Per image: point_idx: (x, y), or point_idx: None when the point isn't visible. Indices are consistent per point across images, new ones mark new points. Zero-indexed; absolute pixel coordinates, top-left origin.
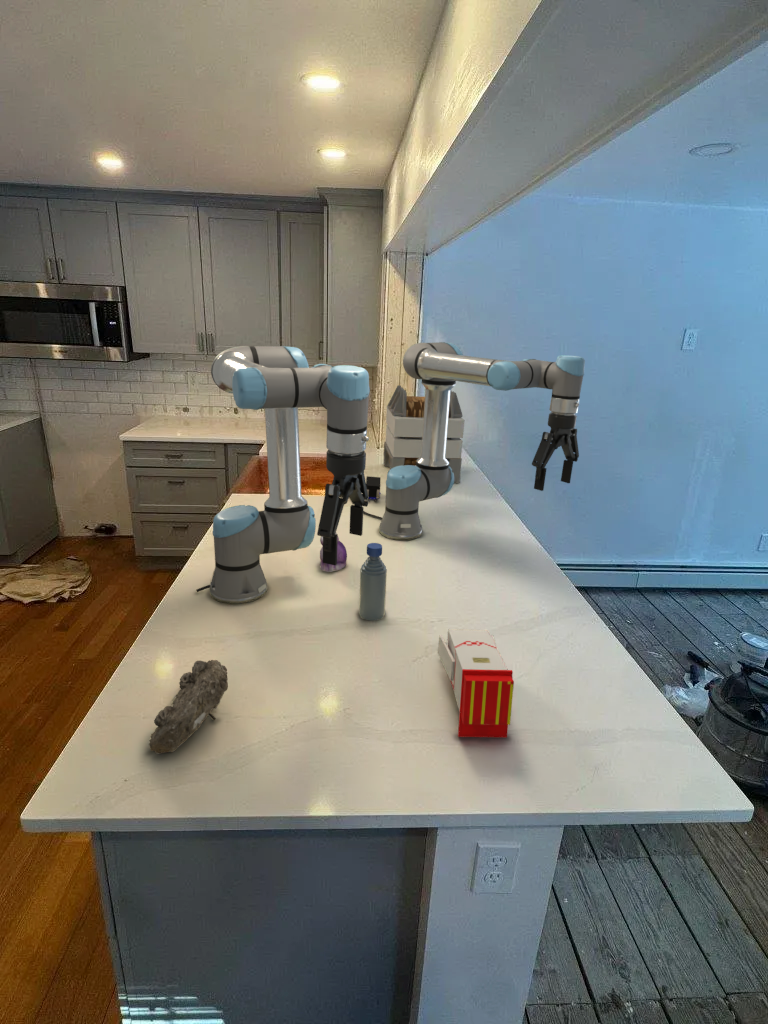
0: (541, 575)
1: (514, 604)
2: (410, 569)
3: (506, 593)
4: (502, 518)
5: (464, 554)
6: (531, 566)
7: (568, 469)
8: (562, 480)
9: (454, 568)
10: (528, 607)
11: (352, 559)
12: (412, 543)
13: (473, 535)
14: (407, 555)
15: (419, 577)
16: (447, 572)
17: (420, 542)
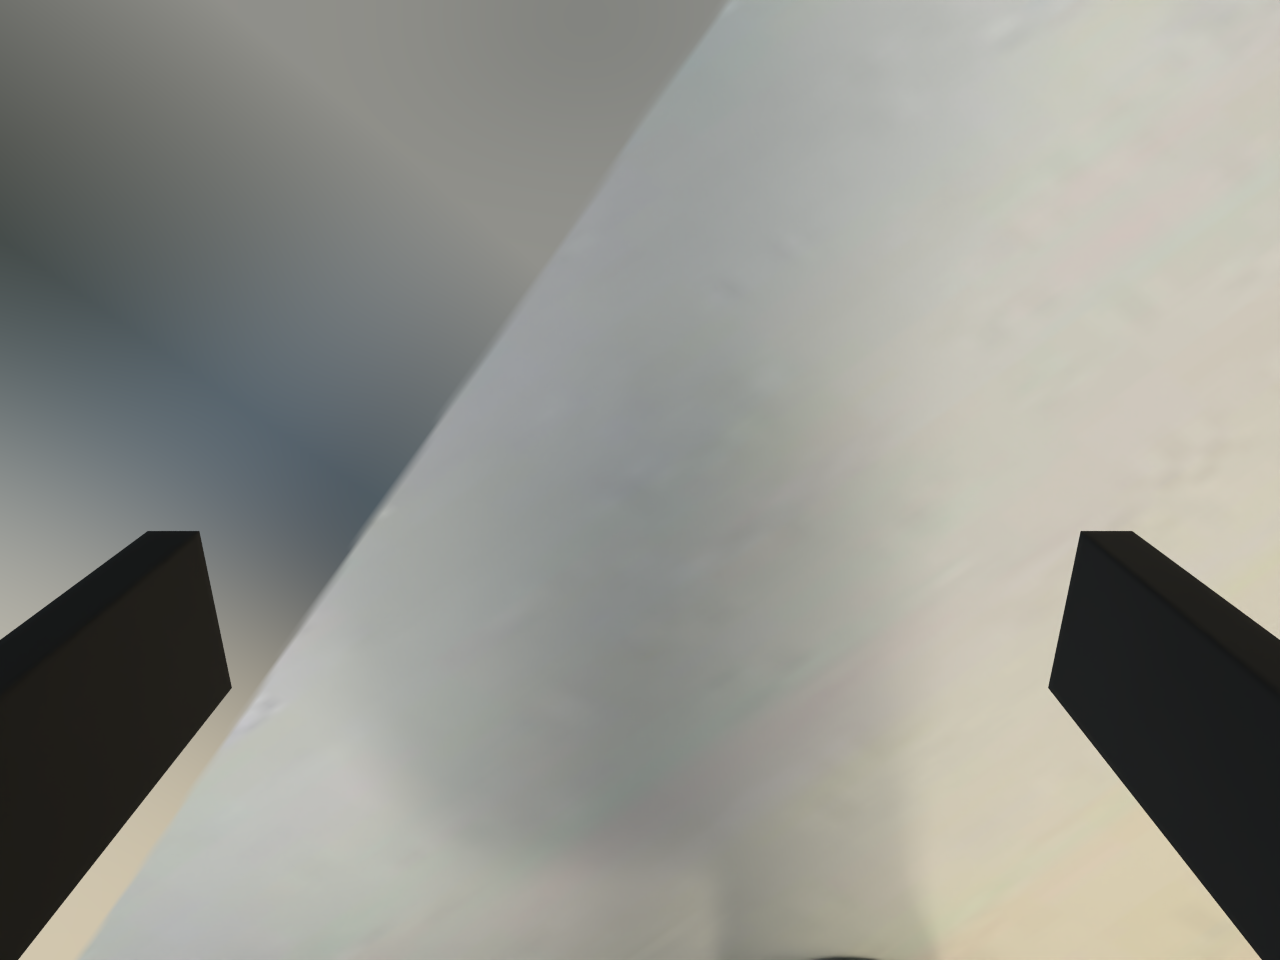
0: (665, 275)
1: (1165, 128)
2: None
3: (1065, 254)
4: (174, 907)
5: (796, 716)
6: (604, 396)
7: (11, 761)
8: (216, 668)
9: (997, 633)
10: (1141, 42)
11: None
12: (900, 932)
13: (535, 843)
14: (1045, 855)
15: None
16: None
17: (856, 921)
